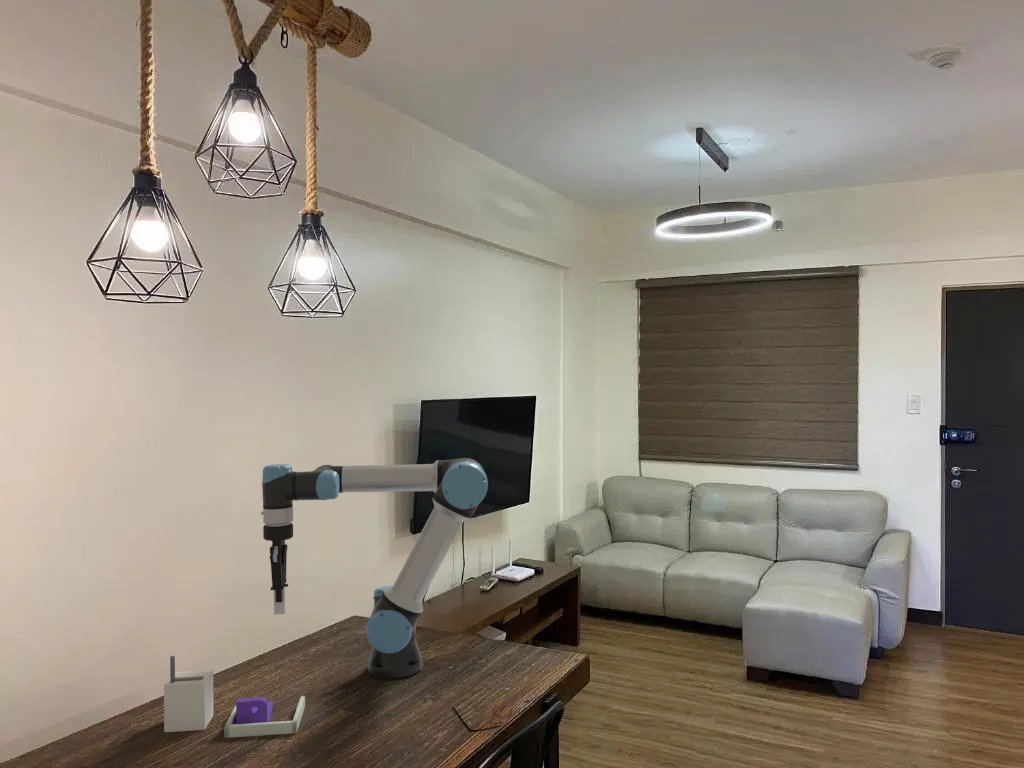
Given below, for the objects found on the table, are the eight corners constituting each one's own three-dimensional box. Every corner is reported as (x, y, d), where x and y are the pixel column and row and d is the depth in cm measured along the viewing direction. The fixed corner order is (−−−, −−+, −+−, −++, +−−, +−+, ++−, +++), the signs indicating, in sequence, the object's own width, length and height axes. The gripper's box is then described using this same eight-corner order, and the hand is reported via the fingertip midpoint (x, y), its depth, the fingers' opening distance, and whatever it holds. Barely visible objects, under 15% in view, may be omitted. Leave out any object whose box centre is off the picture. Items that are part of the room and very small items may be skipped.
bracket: (267, 728, 180) (266, 699, 180) (236, 731, 179) (236, 702, 179) (273, 707, 192) (272, 680, 192) (244, 710, 191) (244, 682, 191)
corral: (305, 706, 192) (305, 696, 192) (296, 733, 177) (296, 722, 177) (238, 710, 190) (238, 700, 190) (224, 737, 175) (224, 726, 175)
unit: (213, 714, 187) (213, 644, 187) (204, 729, 179) (204, 656, 179) (175, 716, 186) (174, 646, 186) (164, 732, 178) (163, 659, 178)
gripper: (267, 519, 207) (269, 607, 207) (258, 528, 194) (260, 621, 195) (296, 518, 208) (298, 605, 208) (289, 527, 196) (291, 620, 196)
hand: (279, 613), depth 202 cm, fingers closed
